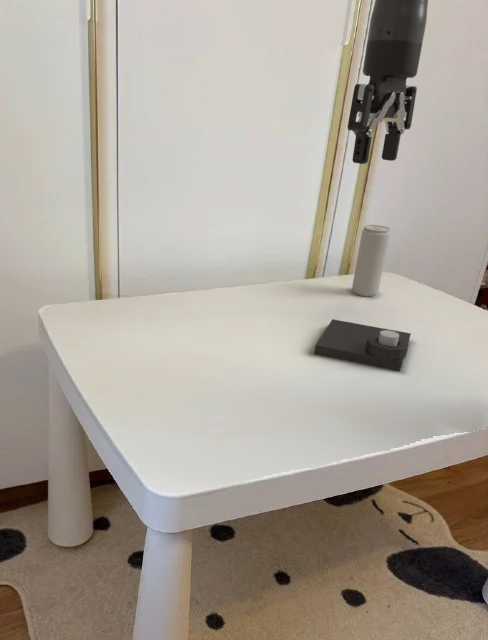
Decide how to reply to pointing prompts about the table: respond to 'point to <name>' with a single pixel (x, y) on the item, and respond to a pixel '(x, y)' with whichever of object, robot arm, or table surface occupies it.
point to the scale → (361, 345)
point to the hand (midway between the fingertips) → (374, 161)
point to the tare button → (388, 338)
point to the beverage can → (370, 260)
